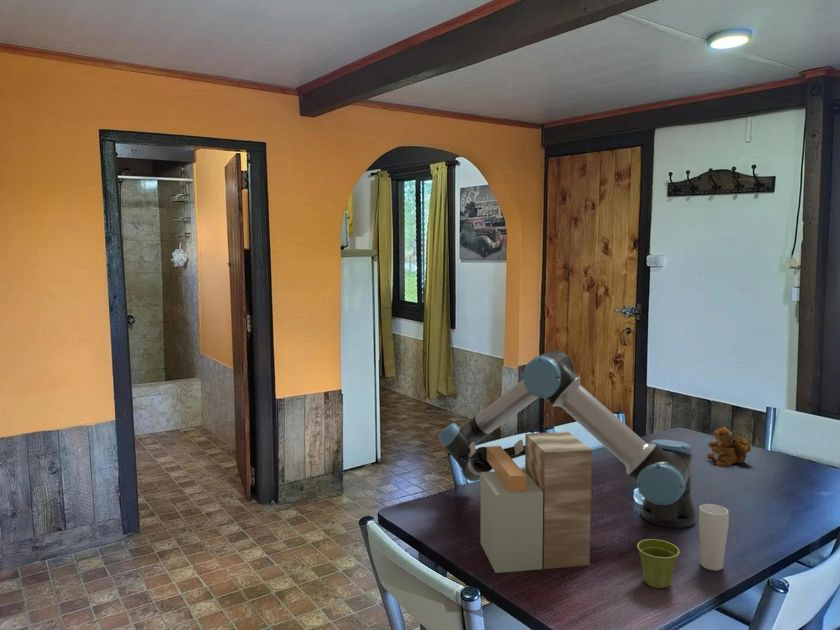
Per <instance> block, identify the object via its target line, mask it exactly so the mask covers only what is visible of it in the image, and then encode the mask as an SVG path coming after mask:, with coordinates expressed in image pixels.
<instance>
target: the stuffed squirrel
mask: <svg viewBox="0 0 840 630" xmlns="http://www.w3.org/2000/svg"><path fill="white" fill-rule="evenodd" d="M732 436H733V432H732V431H730V429H728V428H727V426H722V427H720V428H718V429H716V430H715V431H714V432H713V433H712V435H711V438H714V439H715V441H709V442H708V443H707V445H708V447H709V448H710V449H711V451H712V452H709V453H708V454H706V457H707V458H708V459H709V458H710V459H713V460H715V461H716V462H715V464H716V465H717V466H721V467H722V466H723V467H726V466H727V467H728V466H732V465H733V464H741V463H743V462H745V461H746V458H747V453H749V452H751V451H752V447H753V444H752V443H751V442H750V441H749V440H747V439H746V438H743V437H741V436H740V437H739V436H737V437H733V438H732Z"/></svg>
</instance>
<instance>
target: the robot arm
mask: <svg viewBox="0 0 840 630" xmlns="http://www.w3.org/2000/svg"><path fill="white" fill-rule="evenodd" d="M522 377H523V378H522V380H521V381H519V382H518V383H516V384H515V385H514V386H513V387H511V388H510V389H508V391H506V392H505V393H504V394H503V395H501V396H500V397H498V398H497V399H496V400H494V401H493V402H492V403H491V404H489V405H488V406H486V407H485V408H484V409H483V410H481V411H480V412H479V413H478V414H477V415H475V416H474V417H473V418H471V419H469V420H468V421H467V422H466V423H464V424H463V425H461V426H458V425H457V423H455V422H452V423H450V424H449V425H448V426H446V427H445V428H443V430H442V431H440V432H439V433H438V436H437V437H438V440H439V441H440V442H441V444H442V445H443V447H444V448H445V449H446V450H447V452H448V453H449V454H450V455H451V457H452V458H453V459H454V461H455V462H456V463H457V465H458V466H459V468H461V473H462V476H463V477H464V478H465V479H466V480H467V481H469V482H477V481H481V472H492V470H494V469H493V468H492V467H491V465H490V464H489V463H488V461H487V447H488V446H480V447H478V448H476V444H478V443H479V442H481V441H483V440H485V438H486V437H487V436H488V435H490V434H491V433H493V432H494V431H495V430H496V429H498V428H499V427H500V426H502V425H503V424H504V423H506V422H507V421H509V420H510V419H512V418H513V417H514V416H515V415H517V414H518V413H520V412H521V411H522V410H523V409H525V408H526V407H527V406H529V405H530V404H532V403H533V402H535V401H536V400H537V399H539V398H540V399H544V400H545V401H546V402H547V403H548V404H549V405H550V406H551V407H558V408H559V407H560V408H562V409H563V410H564V412H566V413H567V414H569V416H571V418H573V419H574V420H575V421H576V422H577V423H578V424H579V425H580V426H581V427H583V429H584V430H586V431H587V432H588V433H589V434H591V436H593V438H595V439H596V440H597V441H598V442H599V443H600V444H601V445H602V446H603V447H604V448H606V449H607V450H608V451H609V452H610V453H611V454H612V455H614V456H615V458H617V459H618V460H619V461H620V462H621V463H623V465H624V466H625V468H626V469H625V470H626V475H627V476H629V477H630V479H632V480H633V481H634V482H635V484H637V489H638V491H639V493H640V494H641V496H642V497H643V498H644V499H643V502H642V503H641V509H640V511H641V512H640V513H641V514H640V515H641V516H642V518H643V519H644V520H646V521H647V522H649V523H652V524H654V525H657V526H661V527H664V528H670V529H671V528H674V529H683V528H689V527H693V526H694V525H695V524H696V522H697V513H696V512H697V511H696V509H695V507H694V506H695V505H694V503H693V499H692V494H691V488H692V487H691V485H692V481H691V480H692V457H693V450H692V449H693V448H692V446H691V445H690V444H688V443H686V442H683V441H678V440H673V439H672V440H670V439H653V440H651V441H650V442H649V443H648V442H646V441H645V440H643V439H642V438H641V437H640V436H639V435H638V434H637V433H635V431H633V430H632V429H631V428H630V427H629V426H628V425H627V424H625V423H624V422H623V421H622V420H621V419H620V418H619V417H618V416H616V414H614V413H613V412H612V411H611V410H609V409H608V408H607V407H606V406H605V405H604V404H602V402H600V401H599V399H597V398H596V397H595V396H594V395H593V394H592V393H590V392H589V391H588V390H587V389H586V388H585V387H584V386H583V385H581V377H580V376H579V375H578V374H576V372H575V364H574V362H573V360H572V358H571V357H570V356H569V355H568V354H567V353H566V352H563V351H560V350H550V351H547V352H545V353H543V354H540V355H537V356H535V357H533V358H532V359H531V360H530V361H529V362H528V363H527V364H526V366H525V368H524V370H523V375H522ZM503 449H504V451H505V452H506V453H507V454H508V455H509V456H510V457H511V459H512V460H513V459H516V458H519V457H523V456H525V445H524V442H523V439H519V440H517V442H516V443H515V444H513V446H510V447H506V448H503Z"/></svg>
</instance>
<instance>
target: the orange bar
mask: <svg viewBox="0 0 840 630" xmlns="http://www.w3.org/2000/svg"><path fill="white" fill-rule="evenodd" d="M486 447H487V461H488V463H489V464H490V465H491V467H492V468H493V469H492V470H493V471H495V472H496V473H497V475H498V476H499V478H500V479H501V480H502V482H503V483H504V484H505V486H506V487H507V488H508V490H509V491H510V492H520V491H526V475H525V474H524V473H523V471H522V470H523V469H521V468H520V467H519V466H518V465H517V463H516V462H515V461H514V460H513V459H511V457H510V456H509V455H508V454H507V453H506V452H505V451H504V449H505V448H503V447H502V446H501V445H493V446H488V445H487V446H486Z"/></svg>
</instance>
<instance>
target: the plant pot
mask: <svg viewBox="0 0 840 630" xmlns="http://www.w3.org/2000/svg"><path fill="white" fill-rule="evenodd" d="M636 547H637V550H638V553H639V556H640V560H641V561H640V563H641V568H642V569H641V570H642V577H643V581H645V584H646V585H647V584H648V585H647V586H649V585H650V587H651V586H652V587H651V588H654V587H656V588H655V589H659V588H661V589H663V588H667V587H668V588H670V586H671V585H672V581H673V574H674V570H675V564H676V561H677V558H678V556H679V555H680V549H679V548H678V546H676V545H675V544H673V543H672V542H669V541H666V540H661V539H657V538H655V539H653V538H647V539H642V540H640V541H639V542H638V543H637V546H636Z"/></svg>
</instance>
